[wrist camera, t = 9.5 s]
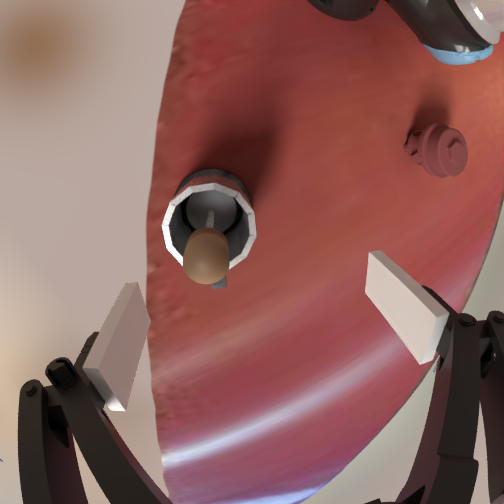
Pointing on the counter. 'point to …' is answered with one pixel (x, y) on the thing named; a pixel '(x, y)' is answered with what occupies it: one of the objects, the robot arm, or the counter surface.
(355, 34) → the counter surface
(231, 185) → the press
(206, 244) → the plunger
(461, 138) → the mechanical component
